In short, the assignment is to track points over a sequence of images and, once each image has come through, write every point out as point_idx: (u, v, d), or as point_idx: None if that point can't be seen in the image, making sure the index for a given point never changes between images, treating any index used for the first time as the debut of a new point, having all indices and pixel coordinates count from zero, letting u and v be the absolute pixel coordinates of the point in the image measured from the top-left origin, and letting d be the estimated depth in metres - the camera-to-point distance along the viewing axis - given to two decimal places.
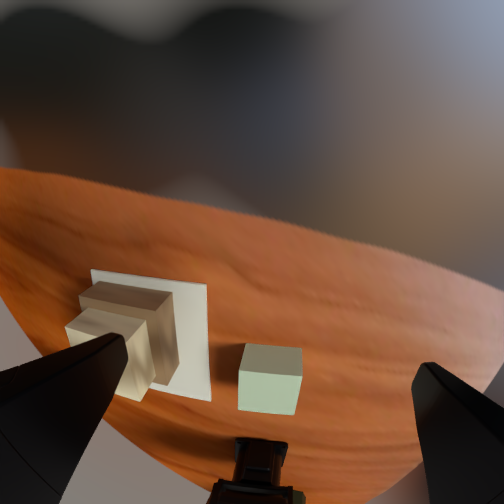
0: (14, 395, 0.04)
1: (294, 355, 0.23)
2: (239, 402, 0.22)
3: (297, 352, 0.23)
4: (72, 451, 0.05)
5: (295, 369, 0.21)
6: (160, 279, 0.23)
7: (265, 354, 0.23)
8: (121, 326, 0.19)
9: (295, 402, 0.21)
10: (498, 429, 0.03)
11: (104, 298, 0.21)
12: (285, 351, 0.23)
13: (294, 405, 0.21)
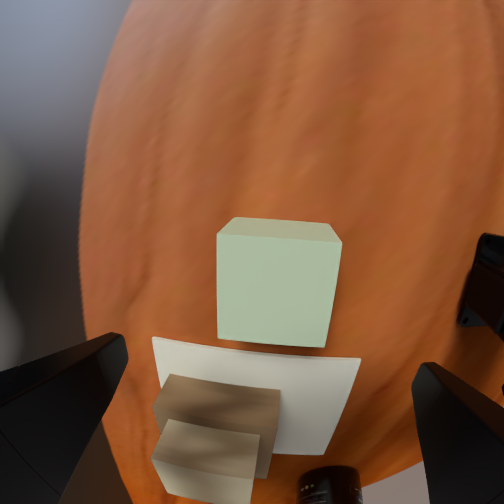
0: (13, 395, 0.04)
1: None
2: (302, 344, 0.12)
3: None
4: (72, 451, 0.05)
5: None
6: (160, 380, 0.19)
7: None
8: None
9: (297, 242, 0.11)
10: (498, 429, 0.03)
11: None
12: None
13: (307, 243, 0.11)
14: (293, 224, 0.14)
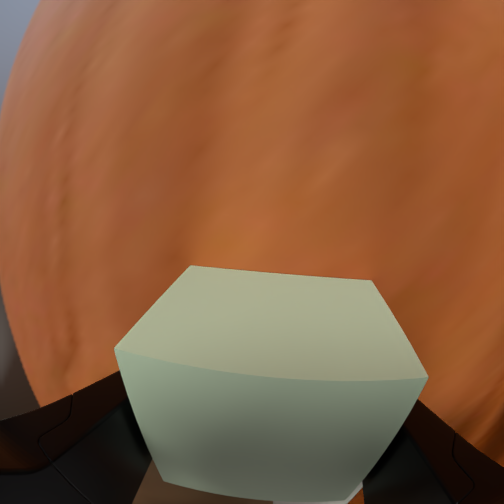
0: (76, 433, 0.03)
1: None
2: (308, 500, 0.05)
3: None
4: (134, 479, 0.04)
5: None
6: None
7: None
8: None
9: (320, 385, 0.04)
10: (432, 449, 0.03)
11: None
12: None
13: (347, 387, 0.04)
14: (305, 293, 0.06)
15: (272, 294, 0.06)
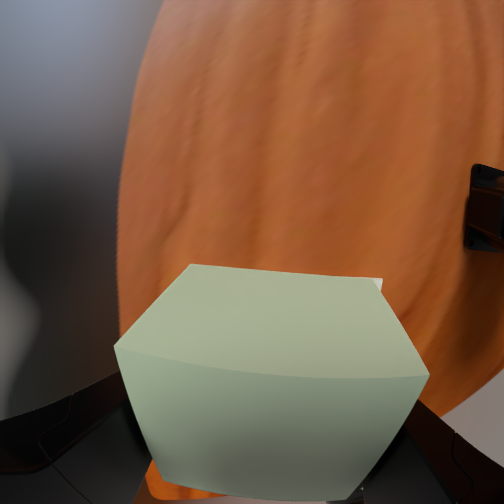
0: (76, 433, 0.03)
1: None
2: (308, 500, 0.05)
3: None
4: (134, 479, 0.04)
5: None
6: None
7: None
8: None
9: (321, 383, 0.04)
10: (432, 449, 0.03)
11: None
12: None
13: (348, 385, 0.04)
14: (306, 291, 0.06)
15: (272, 292, 0.06)
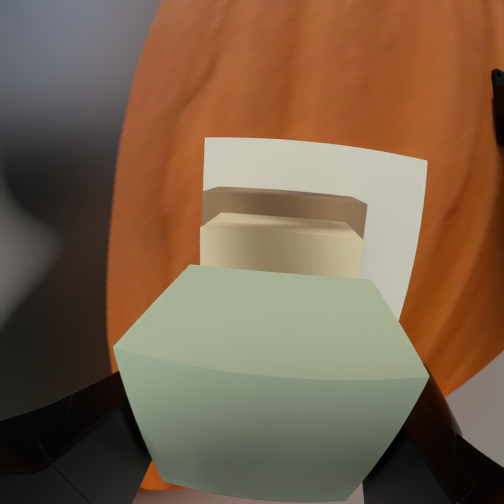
0: (76, 433, 0.03)
1: None
2: (308, 501, 0.05)
3: None
4: (134, 479, 0.04)
5: None
6: None
7: None
8: None
9: (320, 385, 0.04)
10: (433, 449, 0.03)
11: None
12: None
13: (347, 387, 0.04)
14: (306, 292, 0.06)
15: (272, 293, 0.06)
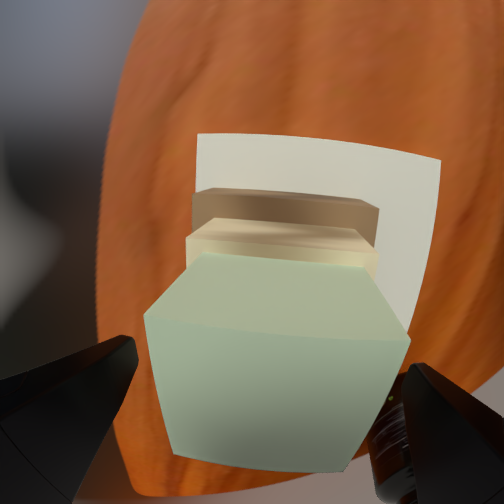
0: (23, 402, 0.03)
1: None
2: (308, 471, 0.06)
3: None
4: (83, 457, 0.05)
5: None
6: None
7: None
8: None
9: (319, 342, 0.05)
10: (487, 433, 0.03)
11: None
12: None
13: (341, 345, 0.05)
14: (305, 274, 0.07)
15: (276, 275, 0.07)
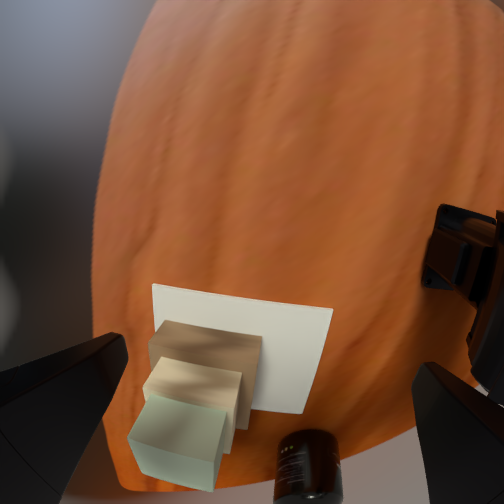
0: (13, 395, 0.04)
1: None
2: (197, 488, 0.13)
3: None
4: (72, 451, 0.05)
5: None
6: None
7: None
8: None
9: (181, 455, 0.12)
10: (498, 429, 0.03)
11: None
12: None
13: (188, 458, 0.12)
14: (192, 417, 0.14)
15: (179, 417, 0.14)
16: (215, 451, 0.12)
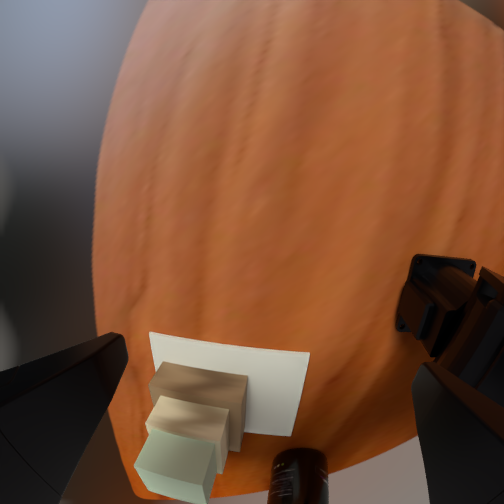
0: (13, 395, 0.04)
1: None
2: (194, 503, 0.15)
3: None
4: (72, 451, 0.05)
5: None
6: (155, 366, 0.24)
7: None
8: None
9: (176, 479, 0.13)
10: (497, 429, 0.03)
11: None
12: None
13: (182, 481, 0.13)
14: (186, 449, 0.16)
15: (175, 448, 0.16)
16: (203, 476, 0.14)
